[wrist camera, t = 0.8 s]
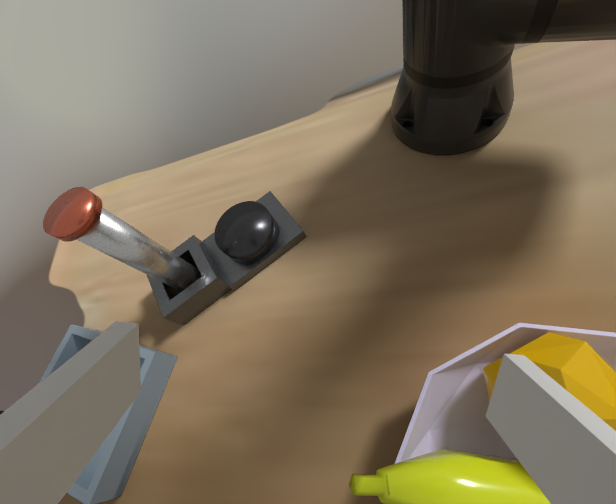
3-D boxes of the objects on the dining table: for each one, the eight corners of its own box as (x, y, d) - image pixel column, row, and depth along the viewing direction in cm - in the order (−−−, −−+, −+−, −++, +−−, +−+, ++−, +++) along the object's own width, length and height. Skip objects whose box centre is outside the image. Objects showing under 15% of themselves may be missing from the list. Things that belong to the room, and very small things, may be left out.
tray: (97, 330, 45) (71, 324, 41) (177, 356, 39) (155, 352, 36) (37, 447, 39) (1, 451, 36) (121, 496, 34) (88, 506, 30)
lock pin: (190, 266, 45) (63, 185, 28) (218, 271, 43) (99, 188, 26) (177, 297, 43) (33, 231, 26) (204, 304, 41) (69, 238, 25)
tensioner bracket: (273, 196, 46) (263, 180, 43) (306, 236, 41) (297, 221, 38) (164, 278, 45) (144, 268, 42) (185, 328, 41) (164, 320, 37)
